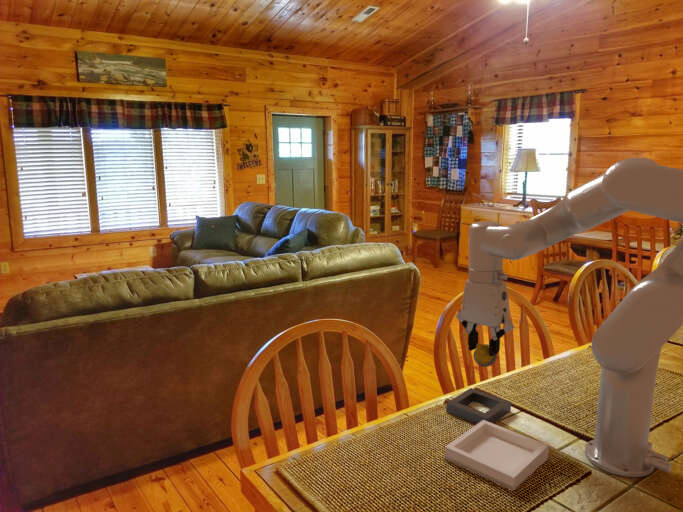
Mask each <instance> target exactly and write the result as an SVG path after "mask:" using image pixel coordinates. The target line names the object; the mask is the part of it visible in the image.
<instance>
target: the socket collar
mask: <svg viewBox="0 0 683 512" xmlns="http://www.w3.org/2000/svg"><path fill="white" fill-rule="evenodd" d="M471 403H476V404H477V405H478V404H479V405H481V406H484V407H487V408H489V409H488V410H487V411H485V412H483V411H481V410H478V409H475V408H473V407H470V406H468V405H470V404H471ZM445 404H446V409H445V410H446V411H445V412H446V413H448V414H450V415H451V416H454V417H457V418H459V419H462V420H464V421H467V422H470V423H472V424H474V425H477V424H478V423H479V422H481V421H482V420H485V421H488V422H490V423H493V424H496V423H497V422H498V421H500V420H501V419H502V418H504V417H505V416H507V415H508V414H509V413H510V412H512V401H510V400H507V399H503V398H501V397H498V396H496V395H493V394H489V393H487V392H484V391H481V390H478V389H475V388H472V387H470V388H468V389H466V390H465V391H464V392H462V393H460V394H459V395H457V396H456V397H454V398H452V399H450V400H449V401H447V402H446V403H445Z"/></svg>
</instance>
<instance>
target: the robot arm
mask: <svg viewBox="0 0 683 512" xmlns="http://www.w3.org/2000/svg"><path fill="white" fill-rule="evenodd" d="M630 211H633V212H636V213H640V214H643V215H648V216H650V217H651V216H652V217H655V218H661V219H664V220H668V221H672V222H676V223H680V224H683V169H681V168H677V167H671V166H667V165H661V164H659V163H657V162H656V160H655V161H654V160H653V159H651V158H647V157H643V156H642V157H641V156H640V157H631V158H624V159H622V160H619V161H617V162H615V163H613V164H612V165H611V166H610V167H608V169H607V170H606V171H605V172H604V173H603V174H601V175H599V176H597V177H595V178H593V179H591V180H589V181H587V182H585V183H583V184H581V185H579V186H577V187H576V188H574V189H571V190H569V191H568V192H567V193H565V194H564V196H563V197H562V199H561V200H560V201H559V202H558V203H556V204H555V205H554V206H552V207H550V208H548V209H546V210H544V211H542V212H541V213H539V214H537V215H535V216H533V217H531V218H529V219H527V220H523V221H520V222H516V223H513V224H509V225H508V224H507V225H503V224H502V223H500V222H497V221H488V220H486V221H476V222H475V221H474V222H473V223H471V225H470V226H469V231H468V232H469V233H468V272H467V273H468V277H467V278H468V279H466V281H465V283H464V289H463V293H462V302H461V309H460V310H459V311H458V312H457V314H456V315H455V317H456V320H458V321H459V322H460V323H461V325H462V327H463V328H464V330H465V333H466V334H467V344H468V345H467V346H468V351H471V352H472V351H473V350H474V351H475V350H476V345H477V343H479V331H477V328H478V326H479V325H481V326H485V327H489V331H490V334H491V339H489V343H488V345H489V355H490V356H494V355H496V354H497V355H498V354H499V352H500V350H501V349H500V348H501V338H502V337H503V336H505V335H506V334H507V333H509V332H510V331H511V332H512V331H513V330H514V329H515V325H514V324H513V322H512V320H511V319H510V303H509V301H510V300H509V292H508V287H507V283H506V282H504V281H508V279H509V277H508V274H507V273H504V269H503V268H504V263H503V262H504V259H505V260H509V261H518V260H521V259H524V258H527V257H529V256H531V255H534V254H536V253H538V252H542V251H544V250H546V249H547V248H549V247H552V246H554V245H555V244H558V243H560V242H563V241H565V240H566V239H568V238H570V237H573V236H575V235H577V234H580V233H584V232H587V231H590V230H592V229H594V228H596V227H598V226H600V225H602V224H604V223H606V222H608V221H611V220H613V219H615V218H617V217H619V216H622V215H623V214H626V213H628V212H630ZM501 325H504V327H502V326H501ZM682 326H683V238H681V239H680V241H679V242H678V243H677V244H676V245H675V247H674V248H673V249H672V251H670V253H669V254H668V255H667V256H666V257H665V259H664V260H663V261H662V262H661V263H660V264H659V265H658V266H657V267H656V268H655V269H654V270H653V271H651V272H650V273H648V274H647V275H646V276H644V277H643V278H642V279H640V280H639V281H638V282H637V283H636V284H635V285H634V286H633V287H632V288H631V289H630V291H628V293H627V294H626V296H624V297H623V299H622V300H620V302H619V303H618V305H617V306H616V307H615V308H614V309H613V311H611V313H610V314H608V317H606V319H605V320H604V321H603V322H602V323H601V324H600V326H599V327H597V329H596V331H595V332H594V333H593V336H592V339H591V351H592V352H591V353H592V355H593V357H594V359H595V360H596V362H597V363H598V364H599V366H601V369H600V379H599V380H600V381H599V385H598V387H599V388H598V397H597V399H598V400H597V407H596V408H597V409H596V416H595V417H596V419H595V431H594V439H592V440H590V441H588V442H587V443H586V444H585V448H584V453H585V454H584V455H585V456H586V458H587V459H588V461H589V462H590V463H591V464H593V465H594V466H595V467H597V468H599V469H601V470H603V471H604V472H607V473H610V474H613V475H616V476H621V477H627V478H641V477H645V476H646V477H647V476H649V475H651V473H653V472H654V470H655V469H658V470H660V471H662V472H665V473H668V474H669V473H670V472H671V469H672V462H670V461H668V456H666V455H664V454H662V453H661V454H660V453H657V452H655V450H653V449H652V448H653V443H652V442H651V441H649V439H650V438H649V437H650V429H651V422H652V421H651V419H652V413H653V412H652V411H653V403H654V395H655V388H656V387H655V386H656V381H657V374H658V373H657V372H658V368H659V362H660V358H661V352H662V347H664V346H665V345H666V344H667V342H668V341H669V340H671V338H672V337H673V336H674V335H675V334H676V333H677V332H678V331H679V330H680V328H681V327H682Z"/></svg>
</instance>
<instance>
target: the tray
mask: <svg viewBox="0 0 683 512" xmlns="http://www.w3.org/2000/svg"><path fill="white" fill-rule="evenodd" d="M549 450H550V445H549V444H547V443H544V442H541V441H539V440H536V439H534V438H532V437H529V436H526V435H524V434H522V433H518V432H516V431H513V430H511V429H508V428H505V427H502V426H500V425H498V424H496V423H494V424H493V423H490V422H488V421H485V420H482V421H481V422H479V423H478V424H474V426H472V427H471V428H470V429H468V430H466V431H465V432H464V433H463V434H461V435H460V436H458V437H457V438H455V439H454V440H452V441H451V442H450V443H448V444H447V445H445V447H444V460H445V459H446V460H448V461H450V462H452V463H454V464H456V465H455V466H457V465H458V466H457V467H459V466H461V467H463V468H465V469H468V470H469V471H471V472H474V473H475V474H474V473H473V474H474V475H476V474H478V475H480V476H482V477H485V478H487V479H489V480H491V481H493V482H495V483H497V484H500V485H502V486H504V487H506V488H508V489H511V490H512V491H513V490H514V489H516V488H517V487H518V486H519V485H520V484H521V483H522V482H523V481H524V480H525V479H526V480H527V479H528V478H529V477H531V475H533V474H534V473H535V472H536V471H537V470H538V469H539V468H540V467H541V466H542V465H543V464H544V463H545V462H546V461H547V460H548V459H549ZM446 460H445V461H446ZM448 461H447V462H448ZM450 462H449V463H450ZM452 463H451V464H452ZM454 464H453V465H454ZM540 465H541V466H540ZM539 466H540V467H539ZM461 467H460V468H461ZM538 467H539V468H538ZM463 468H462V469H463ZM537 468H538V469H537ZM465 469H464V470H465ZM536 469H537V470H536ZM535 470H536V471H535ZM469 471H468V472H469ZM534 471H535V472H534ZM471 472H470V473H471ZM533 472H534V473H533ZM478 475H477V476H478ZM480 476H479V477H480ZM528 476H529V477H528ZM482 477H481V478H482ZM527 477H528V478H527ZM526 480H525V481H526ZM525 481H524V482H525ZM493 482H492V483H493ZM524 482H523V483H524ZM495 483H494V484H495ZM523 483H522V484H523ZM497 484H496V485H497ZM522 484H521V485H522ZM521 485H520V486H521ZM520 486H519V487H520ZM519 487H518V488H519ZM518 488H517V489H518ZM517 489H516V490H517ZM512 491H511V492H512Z"/></svg>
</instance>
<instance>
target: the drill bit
mask: <svg viewBox="0 0 683 512" xmlns="http://www.w3.org/2000/svg"><path fill="white" fill-rule="evenodd" d="M473 359H474V362H475V363H476V364H477V365H478V366H479V367H483V368H489V367H491V366H492V365H494V364H495V362H496V361H497V360H498V353H497V354H496V355H494V356H490V355H489V343H487V344H486V343H485V344H482V343H479V342H478V343H477V345H476V349H474V352H473Z"/></svg>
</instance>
